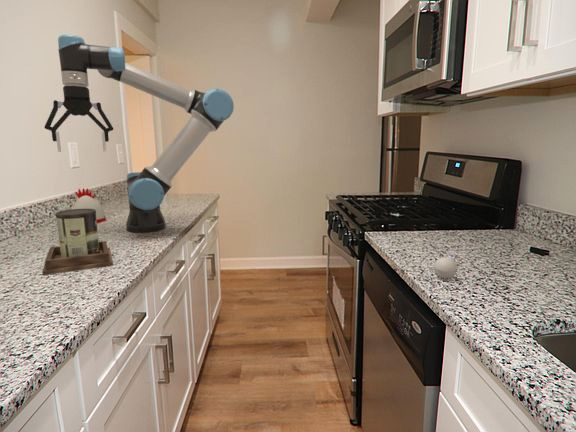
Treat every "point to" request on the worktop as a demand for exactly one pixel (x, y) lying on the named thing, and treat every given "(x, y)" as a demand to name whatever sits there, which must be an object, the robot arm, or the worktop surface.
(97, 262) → the can holder
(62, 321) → the worktop surface
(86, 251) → the coffee can
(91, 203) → the kitchen timer
